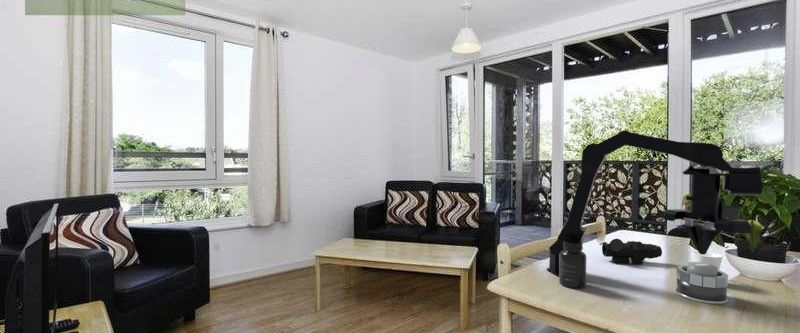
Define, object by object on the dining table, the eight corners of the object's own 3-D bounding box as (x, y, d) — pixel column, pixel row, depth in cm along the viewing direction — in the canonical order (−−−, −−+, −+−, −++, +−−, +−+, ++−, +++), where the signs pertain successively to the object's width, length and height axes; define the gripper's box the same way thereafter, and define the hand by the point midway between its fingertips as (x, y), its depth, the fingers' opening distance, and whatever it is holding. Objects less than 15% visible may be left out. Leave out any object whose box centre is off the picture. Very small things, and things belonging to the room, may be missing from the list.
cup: (686, 280, 109) (687, 252, 109) (699, 274, 115) (700, 248, 114) (716, 288, 103) (717, 258, 103) (729, 281, 109) (730, 253, 109)
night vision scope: (658, 270, 127) (671, 257, 119) (601, 268, 129) (610, 255, 122) (650, 248, 132) (662, 234, 124) (596, 246, 134) (604, 233, 126)
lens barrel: (702, 305, 91) (703, 278, 91) (665, 289, 102) (666, 265, 101) (739, 303, 93) (740, 277, 93) (699, 288, 103) (700, 264, 103)
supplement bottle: (564, 278, 110) (565, 237, 109) (589, 285, 105) (590, 241, 104) (554, 284, 105) (555, 241, 104) (580, 291, 100) (581, 246, 100)
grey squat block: (702, 285, 94) (703, 268, 93) (680, 277, 100) (681, 261, 99) (723, 284, 95) (724, 267, 94) (700, 276, 101) (701, 260, 100)
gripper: (772, 197, 88) (769, 263, 89) (698, 189, 107) (696, 244, 107) (731, 197, 87) (728, 265, 87) (663, 189, 105) (661, 245, 106)
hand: (702, 254), depth 97 cm, fingers closed
